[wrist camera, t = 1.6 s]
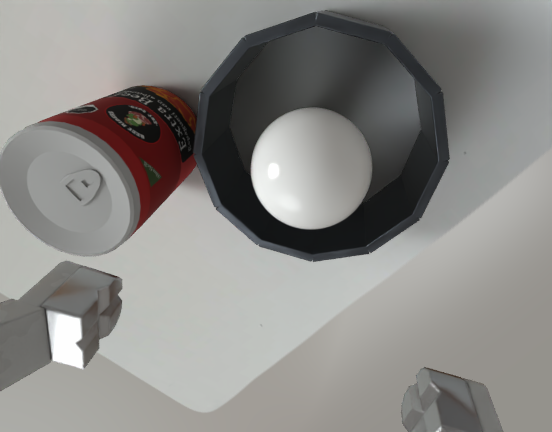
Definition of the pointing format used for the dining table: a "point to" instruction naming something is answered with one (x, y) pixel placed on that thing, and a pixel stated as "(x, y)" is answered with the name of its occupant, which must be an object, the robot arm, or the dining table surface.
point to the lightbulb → (311, 168)
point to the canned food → (98, 168)
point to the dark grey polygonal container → (367, 217)
